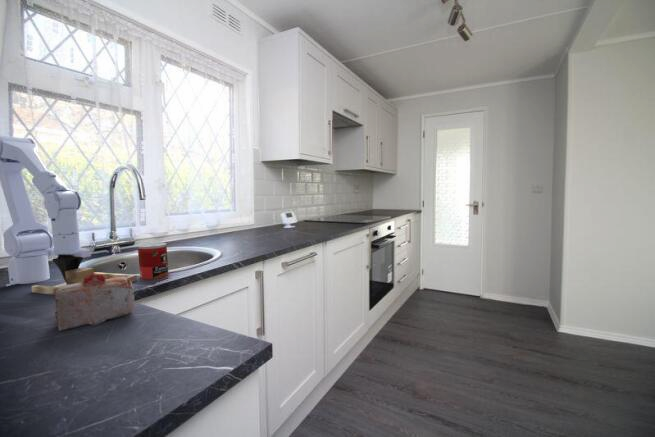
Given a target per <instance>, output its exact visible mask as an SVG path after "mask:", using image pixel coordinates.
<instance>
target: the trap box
mask: <svg viewBox="0 0 655 437" xmlns="http://www.w3.org/2000/svg"><path fill="white" fill-rule="evenodd" d="M94 275H103V276H104V277H105V279H110V278H117V277H122V276H126V277H127V278H128V279H129V280H130V281H131V282H132V283H134V282H137V281H138V276H137V274H129V273H128V274H127V273H112V272H98V271H96V272H95V271H94ZM62 285H66V282H63V283H59V284H56V285H53V286H50V285H49V286H47V285H38V284H36V285H32V286H31V292H32V293H33V294H34V293H35V294H46V295H54V292H55V291H54V290H55V289H56V288H58V287H59V286H62Z"/></svg>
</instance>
